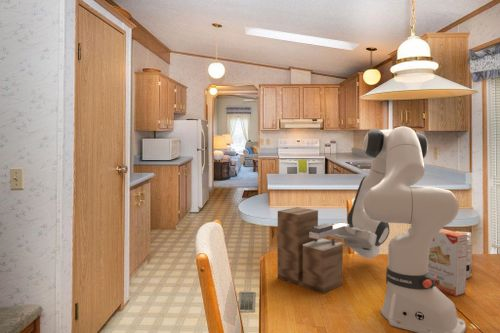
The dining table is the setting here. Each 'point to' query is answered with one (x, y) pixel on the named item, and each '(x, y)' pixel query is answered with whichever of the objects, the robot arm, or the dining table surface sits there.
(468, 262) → the supplement can
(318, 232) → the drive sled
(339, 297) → the dining table surface
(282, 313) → the dining table surface
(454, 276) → the cracker box
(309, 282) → the stepped wooden blocks
